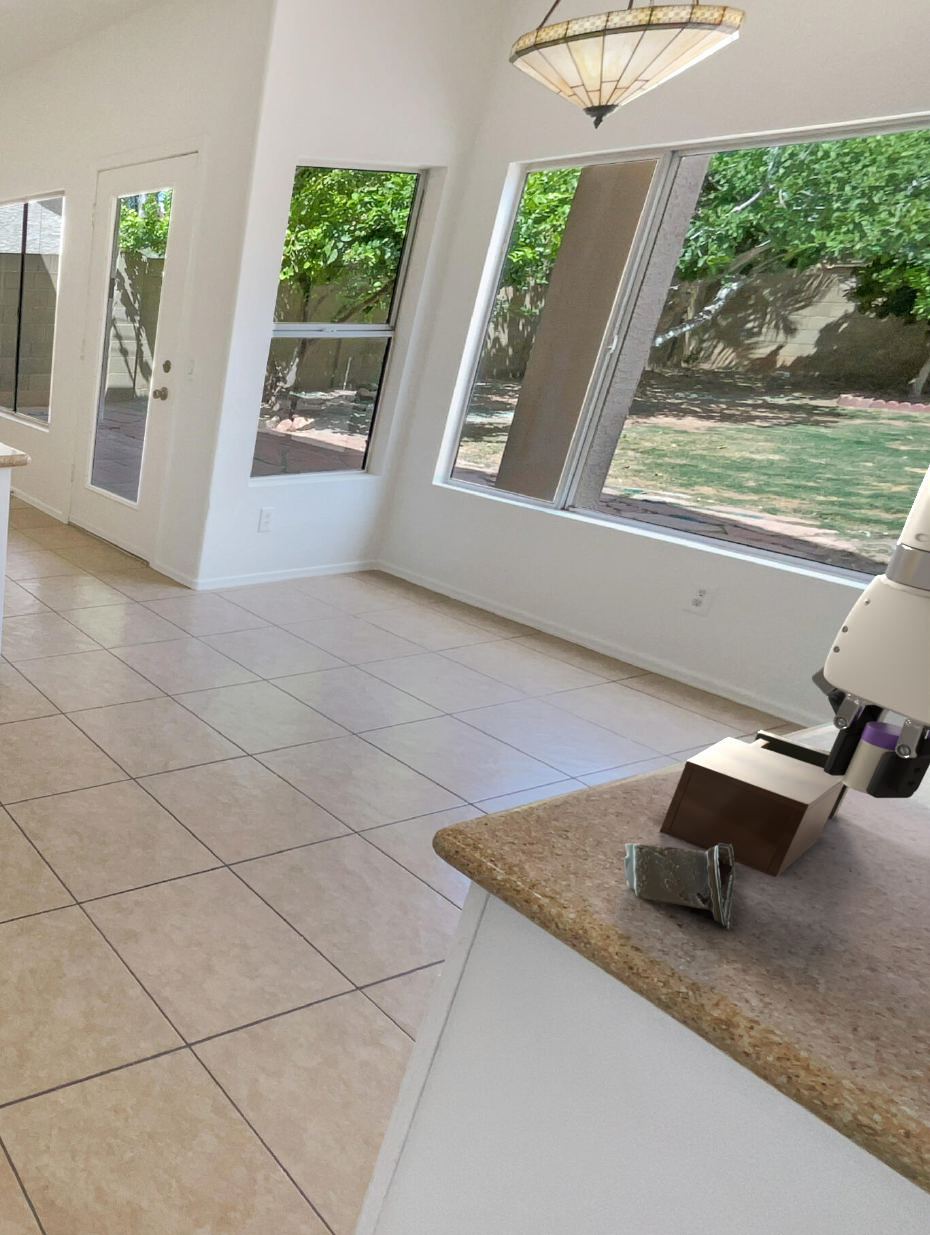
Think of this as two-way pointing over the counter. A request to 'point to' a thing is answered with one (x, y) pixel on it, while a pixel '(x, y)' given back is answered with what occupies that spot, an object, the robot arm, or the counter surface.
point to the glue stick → (870, 753)
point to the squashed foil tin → (683, 876)
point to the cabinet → (752, 804)
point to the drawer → (799, 756)
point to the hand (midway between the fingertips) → (866, 783)
